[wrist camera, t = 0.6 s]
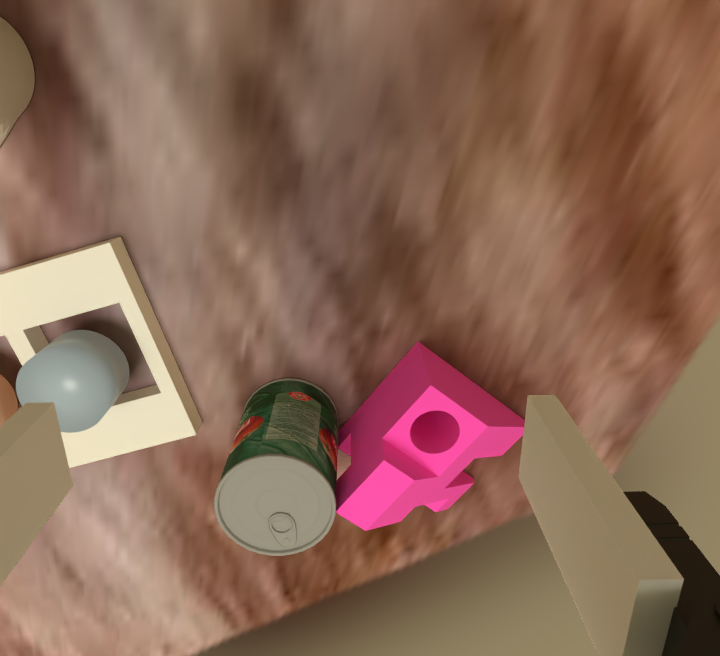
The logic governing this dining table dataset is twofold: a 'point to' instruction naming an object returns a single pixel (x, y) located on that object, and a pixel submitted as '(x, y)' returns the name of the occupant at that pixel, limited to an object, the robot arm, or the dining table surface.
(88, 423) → the slate-blue button
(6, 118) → the beige tall tapered piece
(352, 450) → the bracket
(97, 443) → the panel
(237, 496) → the canned tomato
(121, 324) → the dining table surface
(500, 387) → the dining table surface
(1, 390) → the terracotta button
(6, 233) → the dining table surface
